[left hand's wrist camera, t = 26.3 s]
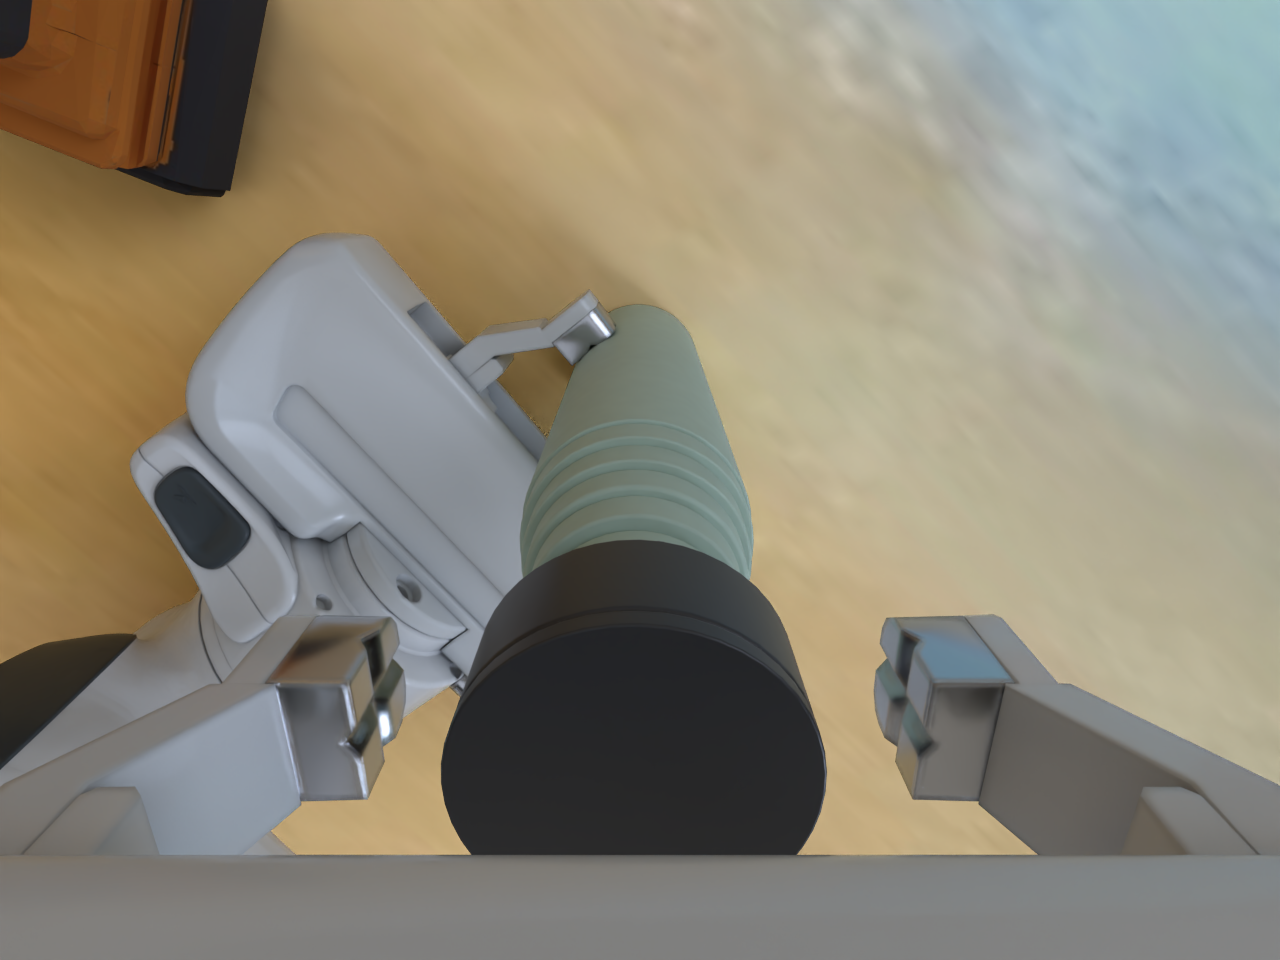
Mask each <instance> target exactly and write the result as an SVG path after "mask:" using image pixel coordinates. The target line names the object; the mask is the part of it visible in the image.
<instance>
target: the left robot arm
mask: <svg viewBox="0 0 1280 960" xmlns="http://www.w3.org/2000/svg"><path fill="white" fill-rule="evenodd" d="M399 645H400V639H399V634H398V628H397V623H396V622H395V621H394V619H393V618H392V617H388V616H337V615H322V616H319V615H286V616H282V617H279V618H278V619H277V620H276V621H275V622H274V623H273V625H272V626H271V627H270V628H269V629H268V630H267V632H266V633H265V634H264V635H263V636H262V637H261V639H260V640H259V641H258V642H257V643H256V644H255V645H254V647H253V648H252V649H251V650H250V651H249V652H248V654H247V655H246V656H245V657H244V658H243V659H242V661H241V662H240V663H239V664H238V665H237V666H236V667H235V669H234V670H233V671H232V672H231V673H230V674H229V676H228V677H227V678H226V679H225V680H224V681H223V683H222V684H208V685H206V686H204V687H202V688H200V689H198V690H196V691H194V692H192V693H190V694H188V695H186V696H184V697H182V698H179V699H177V700H175V701H173V702H171V703H169V704H167V705H165V706H163V707H161V708H159V709H157V710H155V711H153V712H151V713H148V714H146V715H144V716H142V717H140V718H138V719H136V720H134V721H132V722H130V723H128V724H126V725H124V726H122V727H120V728H117V729H115V730H113V731H111V732H109V733H107V734H105V735H103V736H101V737H99V738H97V739H95V740H93V741H91V742H89V743H87V744H84V745H82V746H80V747H78V748H76V749H74V750H72V751H70V752H68V753H66V754H64V755H62V756H60V757H58V758H56V759H53V760H51V761H49V762H47V763H45V764H43V765H41V766H39V767H37V768H35V769H33V770H31V771H29V772H27V773H25V774H23V775H20V776H18V777H16V778H14V779H12V780H10V781H8V782H6V783H4V784H3V785H2V786H1V787H0V960H1280V786H1279V785H1278V784H1275V783H1273V782H1271V781H1269V780H1267V779H1265V778H1263V777H1261V776H1259V775H1257V774H1255V773H1253V772H1251V771H1249V770H1247V769H1245V768H1243V767H1240V766H1238V765H1236V764H1234V763H1232V762H1230V761H1228V760H1226V759H1224V758H1222V757H1220V756H1218V755H1216V754H1214V753H1212V752H1210V751H1208V750H1205V749H1203V748H1201V747H1199V746H1197V745H1195V744H1193V743H1191V742H1189V741H1187V740H1185V739H1183V738H1181V737H1179V736H1177V735H1175V734H1173V733H1170V732H1168V731H1166V730H1164V729H1162V728H1160V727H1158V726H1156V725H1154V724H1152V723H1150V722H1148V721H1146V720H1144V719H1142V718H1140V717H1138V716H1135V715H1133V714H1131V713H1129V712H1127V711H1125V710H1123V709H1121V708H1119V707H1117V706H1115V705H1113V704H1111V703H1109V702H1107V701H1105V700H1103V699H1101V698H1098V697H1096V696H1094V695H1092V694H1090V693H1088V692H1086V691H1084V690H1082V689H1080V688H1078V687H1076V686H1074V685H1072V684H1058V683H1057V681H1056V680H1055V679H1054V678H1053V677H1052V676H1051V674H1050V673H1049V672H1048V671H1047V670H1046V669H1045V667H1044V666H1043V665H1042V664H1041V663H1040V662H1039V661H1038V659H1037V658H1036V657H1035V656H1034V655H1033V654H1032V652H1031V651H1030V650H1029V649H1028V648H1027V647H1026V645H1025V644H1024V643H1023V642H1022V641H1021V640H1020V639H1019V637H1018V636H1017V635H1016V634H1015V633H1014V632H1013V630H1012V629H1011V628H1010V627H1009V626H1008V625H1007V624H1006V622H1005V621H1004V620H1003V619H1002V618H1001V617H998V616H996V615H994V614H992V615H965V616H935V617H895V618H886V620H885V622H884V625H883V627H882V632H881V639H880V645H881V647H882V649H883V651H884V652H885V654H886V656H887V659H886V660H885V661H884V662H883V663H882V664H881V665H880V666H879V667H878V669H877V670H876V674H875V684H874V701H875V711H876V715H877V719H878V723H879V726H880V728H881V731H882V733H883V735H884V738H886V739H887V740H888V741H890V742H891V743H893V744H894V745H896V746H897V754H896V760H895V762H896V764H897V766H898V769H899V771H900V773H901V775H902V777H903V779H904V782H905V784H906V786H907V788H908V790H909V793H910V795H911V797H912V799H914V800H951V801H979V805H980V806H981V807H982V808H984V809H985V810H986V811H987V812H988V813H989V814H991V815H992V816H993V817H994V818H995V819H997V820H998V821H999V822H1000V823H1001V824H1002V825H1004V826H1005V827H1006V828H1007V829H1008V830H1010V831H1011V832H1012V833H1013V834H1014V835H1015V836H1017V837H1018V838H1019V839H1020V840H1021V841H1023V842H1024V843H1025V844H1026V845H1027V846H1028V847H1030V848H1031V849H1032V850H1033V851H1034V852H1036V853H1037V854H1038V855H242V854H244V853H245V852H246V851H247V850H248V849H249V848H251V847H252V846H253V845H254V844H255V843H257V842H258V841H259V840H260V839H261V838H262V837H264V836H265V835H266V834H267V833H268V832H270V831H271V830H272V829H273V828H274V827H275V826H277V825H278V824H279V823H280V822H281V821H283V820H284V819H285V818H286V817H287V816H289V815H290V814H291V813H292V812H293V811H294V810H296V809H297V808H298V807H299V806H300V805H301V801H328V800H364V799H368V797H369V795H370V793H371V791H372V788H373V786H374V784H375V782H376V780H377V777H378V775H379V773H380V771H381V769H382V767H383V764H384V762H385V760H384V753H383V746H384V745H386V744H387V743H389V742H390V741H392V740H393V739H394V738H396V735H397V733H398V731H399V728H400V726H401V723H402V719H403V714H404V709H405V704H406V681H405V674H404V670H403V669H402V667H401V666H400V665H399V664H398V663H397V662H396V661H395V660H394V659H393V656H394V654H395V652H396V651H397V649H398V647H399Z"/></svg>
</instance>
